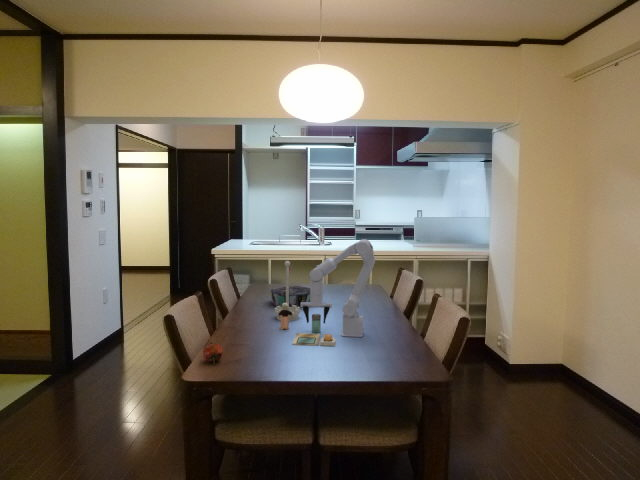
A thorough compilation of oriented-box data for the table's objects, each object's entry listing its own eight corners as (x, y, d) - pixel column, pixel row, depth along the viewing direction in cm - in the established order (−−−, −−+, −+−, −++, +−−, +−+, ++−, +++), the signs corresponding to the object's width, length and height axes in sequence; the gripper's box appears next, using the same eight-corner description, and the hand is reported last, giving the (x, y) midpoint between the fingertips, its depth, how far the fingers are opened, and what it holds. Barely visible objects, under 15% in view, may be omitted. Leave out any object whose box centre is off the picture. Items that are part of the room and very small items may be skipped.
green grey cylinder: (320, 330, 203) (321, 314, 202) (320, 333, 199) (320, 316, 198) (312, 330, 203) (312, 313, 203) (311, 333, 199) (311, 316, 199)
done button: (332, 339, 186) (332, 334, 186) (331, 342, 183) (331, 336, 183) (324, 339, 186) (324, 334, 186) (324, 341, 183) (324, 336, 183)
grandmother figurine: (278, 330, 202) (278, 304, 201) (276, 328, 206) (276, 302, 205) (294, 329, 205) (294, 303, 203) (292, 327, 208) (292, 301, 207)
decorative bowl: (320, 310, 248) (322, 293, 247) (274, 310, 238) (275, 293, 237) (305, 300, 272) (306, 284, 271) (262, 300, 261) (264, 284, 261)
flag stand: (296, 322, 217) (296, 263, 214) (271, 320, 219) (271, 262, 216) (302, 315, 229) (302, 259, 227) (279, 314, 232) (278, 258, 229)
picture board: (320, 335, 196) (320, 333, 196) (318, 345, 182) (318, 343, 182) (296, 334, 197) (296, 332, 197) (292, 344, 183) (292, 342, 183)
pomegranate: (225, 368, 163) (224, 346, 170) (222, 358, 157) (221, 335, 165) (204, 371, 161) (204, 349, 168) (201, 361, 156) (201, 338, 163)
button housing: (335, 341, 188) (335, 337, 188) (334, 346, 182) (335, 342, 181) (321, 341, 188) (321, 337, 188) (320, 345, 182) (320, 342, 182)
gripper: (332, 292, 203) (332, 320, 204) (301, 291, 204) (301, 319, 205) (331, 295, 196) (331, 325, 197) (300, 294, 197) (299, 323, 198)
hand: (316, 322), depth 201 cm, fingers open, 7 cm apart
